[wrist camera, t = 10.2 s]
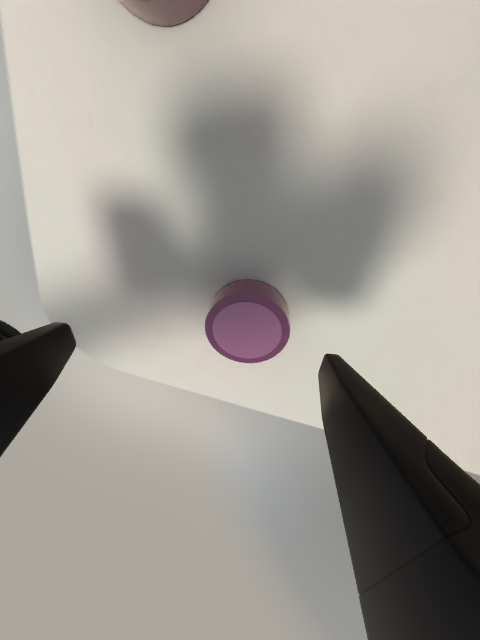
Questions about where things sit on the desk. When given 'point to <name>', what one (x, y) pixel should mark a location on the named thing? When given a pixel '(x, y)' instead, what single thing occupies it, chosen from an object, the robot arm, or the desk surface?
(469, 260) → the desk surface
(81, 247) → the desk surface
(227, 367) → the desk surface
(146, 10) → the dish
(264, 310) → the dish
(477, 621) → the robot arm
